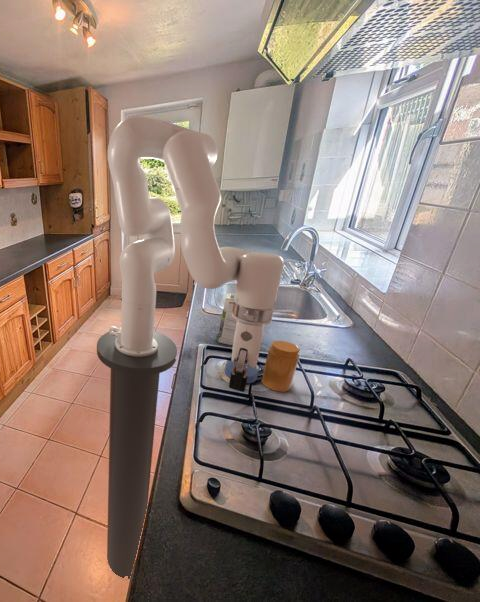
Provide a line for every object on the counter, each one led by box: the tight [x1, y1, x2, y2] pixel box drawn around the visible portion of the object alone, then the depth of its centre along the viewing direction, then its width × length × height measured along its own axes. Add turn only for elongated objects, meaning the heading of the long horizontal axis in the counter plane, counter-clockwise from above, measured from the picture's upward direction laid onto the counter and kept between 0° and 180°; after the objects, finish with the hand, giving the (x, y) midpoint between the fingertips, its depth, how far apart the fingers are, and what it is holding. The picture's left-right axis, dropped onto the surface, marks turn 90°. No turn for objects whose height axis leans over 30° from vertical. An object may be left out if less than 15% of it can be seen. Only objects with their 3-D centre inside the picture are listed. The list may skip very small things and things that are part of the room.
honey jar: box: [260, 340, 301, 393], centre depth 71 cm, size 6×6×11 cm
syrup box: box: [216, 293, 237, 346], centre depth 90 cm, size 6×6×14 cm
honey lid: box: [224, 360, 259, 384], centre depth 70 cm, size 7×7×2 cm
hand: (238, 380), depth 71 cm, fingers closed on honey lid, 6 cm apart
